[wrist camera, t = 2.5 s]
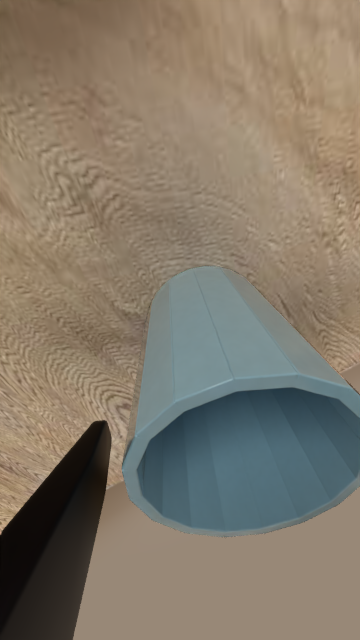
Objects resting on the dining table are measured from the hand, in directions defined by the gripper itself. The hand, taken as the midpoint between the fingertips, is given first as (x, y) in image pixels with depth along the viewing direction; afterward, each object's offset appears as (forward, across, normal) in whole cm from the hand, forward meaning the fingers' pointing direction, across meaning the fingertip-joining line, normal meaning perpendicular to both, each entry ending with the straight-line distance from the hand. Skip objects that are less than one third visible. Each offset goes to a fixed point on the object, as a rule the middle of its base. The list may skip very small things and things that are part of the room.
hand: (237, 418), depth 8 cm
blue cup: (+7, 0, 0) cm, 7 cm away
